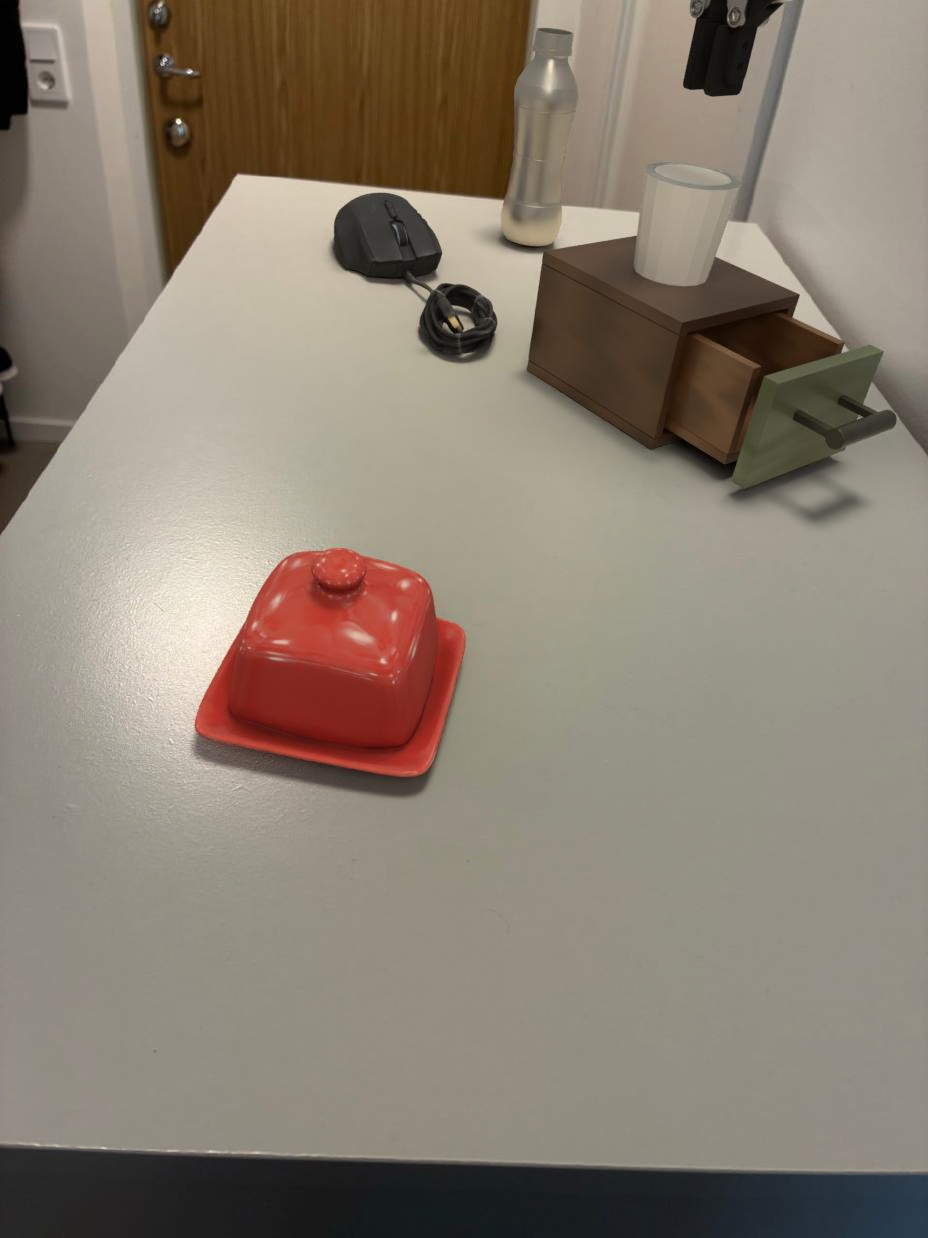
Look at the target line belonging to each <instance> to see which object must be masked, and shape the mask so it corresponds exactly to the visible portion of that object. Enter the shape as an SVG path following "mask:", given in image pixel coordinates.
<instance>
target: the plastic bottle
mask: <svg viewBox="0 0 928 1238" xmlns="http://www.w3.org/2000/svg"><path fill="white" fill-rule="evenodd" d="M573 41H574V32H572V31H569V30H565V29H560V28H555V27H554V28H553V27H538V28H536V29H535V34H534V42H533V44H532V49H531V51H533V52H534V55H533V58H532V60H531V61H530V62H529V63H528V64H527V66H525V68H524V69H523V71H521V73H520V75H519V76H518V78H517V80H516V83H515V85H514V89H513V113H514V114H513V115H514V117H513V118H514V119H513V120H514V121H513V123H514V132H513V150H512V162H511V166H510V167H511V168H510V173H509V177H508V178H509V180H508V184H507V190H506V194H505V195H504V199H503V203H502V207H501V211H500V227H501V231H502V234H503V235H504V237H505V238H506V239H507V240H509V241H510V242H513V243H516V244H518V245H523V246H529V247H545V246H550V245H551V244H552V243H553V242H554V241H555V240H556V239H557V238H558V236H559V234H560V233H559V232H560V229H561V227H562V223H563V221H562V217H563V215H562V214H563V207H562V200H561V199H562V188H563V187H562V186H563V173H564V172H563V171H564V164H565V158H566V157H565V154H566V152H567V147H568V142H569V137H570V133H571V129H572V125H573V122H574V119H575V115H576V111H577V109H576V108H577V107H578V102H579V98H580V97H579V87H578V83H577V81H576V78H575V75H574V71H572V68H571V66H570V64H569V57H571V56H572V55H573Z"/></svg>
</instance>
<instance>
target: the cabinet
mask: <svg viewBox="0 0 928 1238" xmlns="http://www.w3.org/2000/svg"><path fill="white" fill-rule="evenodd" d="M636 240H637V235H631V236H625V237H619V238H613V239H608V240H602V241H595V242H590V243H584V244H577V245H572V246H571V245H570V246H565V247H558V248H554V249H548V250H543V251H542V259H541V267H540V272H539V281H538V288H537V295H536V302H535V307H534V308H535V309H534V315H533V322H532V329H531V338H530V342H529V343H530V344H529V349H528V350H529V352H528V357H527V359H528V360H527V365H526V370H527V371H528V372H530V373H532V375H535V376H536V377H537V378H539V379H541V380H542V381H544V382H545V383H547V384H549V385H550V386H552V387H553V388H555V389H556V390H558V391H559V392H561V393H563V394H564V395H566V396H567V397H569V398H570V399H572V400H573V401H575V402H577V403H578V404H579V405H581V406H582V407H584V408H586V409H587V410H589V411H591V412H592V413H594V415H595V414H596V415H597V416H599V417H600V418H601V419H602V420H605V421H606V422H607V423H609V424H611V425H612V426H613V427H615V428H617V429H619V430H620V431H622V432H623V433H624V434H626V435H628V436H630V437H631V438H633V439H634V440H636V441H638V442H639V443H640V444H642V445H644V446H645V447H647V448H649V449H650V450H653V449H656V448H659V447H662V446H666V445H668V444H669V445H670V444H672V443H675V442H679V441H681V440H683V439H682V438H681V437H679V436H678V435H676V434H674V433H673V432H671V431H669V430H668V429H666V428H665V427H664V425H665V421H666V417H667V413H668V409H669V405H670V401H671V397H672V393H673V389H674V385H675V381H676V377H677V373H678V369H679V365H680V361H681V357H682V353H683V349H684V345H685V341H686V337H687V333H689V332H693V331H697V330H701V329H705V328H709V327H713V326H717V325H721V324H725V323H729V322H733V321H737V320H741V319H745V318H750V317H754V316H758V315H762V314H766V313H770V312H774V311H780V312H782V313H784V314H786V315H788V316H790V317H792V318H794V314H795V312H796V308H797V306H798V303H799V299H800V296H801V294H799V293H798V292H796V291H793V290H791V289H789V288H787V287H785V286H782V285H780V284H777V283H776V282H774V281H771V280H769V279H766V278H764V277H762V276H760V275H758V274H755V273H753V272H751V271H748V270H746V269H744V268H743V267H739V266H737V265H735V264H733V263H731V262H729V261H726V260H724V259H722V258H719V257H717V256H715V259H714V262H713V264H712V267H711V270H710V273H709V276H708V278H707V280H706V282H705V283H702V284H699V285H696V286H675V285H667V284H663V283H659V282H655V281H652V280H650V279H647V278H645V277H643V276H641V275H640V274H638V273H637V272H636V271H635V269H634V257H635V249H636Z"/></svg>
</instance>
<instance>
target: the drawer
mask: <svg viewBox="0 0 928 1238" xmlns="http://www.w3.org/2000/svg"><path fill="white" fill-rule="evenodd" d="M845 344H846V342H845V341H844V340H842V339H840V338H837V337H835V336H833V335H831V334H829V333H826V332H824V331H823V330H820V329H818V328H816V327H814V326H811V325H809V324H808V323H805V322H803V321H801V320H799V319H797V318H794V317H793V318H792V317H790V316H788V315H786V314H784V313H782V312H780V311H774V312H770V313H766V314H762V315H758V316H754V317H750V318H745V319H741V320H737V321H733V322H729V323H725V324H721V325H717V326H713V327H709V328H705V329H701V330H697V331H693V332H689V333H687V337H686V341H685V345H684V349H683V353H682V357H681V361H680V365H679V369H678V373H677V377H676V381H675V385H674V389H673V393H672V397H671V401H670V405H669V409H668V413H667V417H666V421H665V425H664V427H665V428H666V429H668V430H669V431H671V432H673V433H674V434H676V435H678V436H679V437H681V438H682V439H681V440H684V441H685V442H688V443H689V444H690V445H692V446H694V447H696V448H697V449H699V450H700V451H702V452H704V453H705V454H707V455H709V456H710V457H712V458H713V459H715V460H716V461H718V462H720V463H721V464H723V465H728V464H729V463H733V462H736V465H735V467H734V469H733V470H734V471H733V472H732V477H731V479H730V480H731V482H732V483H733V484H735V485H736V486H738V487H739V488H741V489H743V490H745V489H748V488H750V487H753V486H755V485H758V484H761V483H764V482H766V481H768V480H771V479H773V478H776V477H779V476H781V475H784V474H787V473H789V472H792V471H795V470H797V469H799V468H800V469H801V468H802V467H805V466H808V465H811V464H813V463H815V462H818V461H821V460H823V459H826V458H828V457H831V456H833V455H836V454H839V453H841V452H844V451H846V448H847V447H848V446H849V447H850V446H851V445H854V444H857V443H860V442H861V441H864V440H867V439H869V438H872V437H875V436H877V435H881V434H883V433H885V432H888V431H890V430H893V429H894V428H895V427H896V425H897V423H898V419H897V418H898V417H897V415H896V413H895V412H894V411H893V410H890V409H883V410H880V411H878V410H875V409H873V408H871V407H870V406H868V405H865V404H864V403H865V400H866V397H867V395H868V393H869V390H870V388H871V385H872V382H873V380H874V377H875V375H876V372H877V370H878V368H879V365H880V362H881V360H882V357H883V354H884V350H883V349H881V348H878V347H876V346H874V345H872V344H867V345H864V346H861V347H858V348H854V349H851V350H847V351H844V352H843V349H844V346H845ZM859 416H860V417H861V418H859ZM858 418H859V419H858Z"/></svg>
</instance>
